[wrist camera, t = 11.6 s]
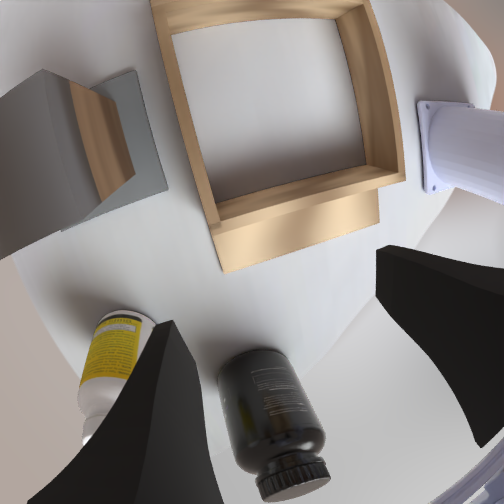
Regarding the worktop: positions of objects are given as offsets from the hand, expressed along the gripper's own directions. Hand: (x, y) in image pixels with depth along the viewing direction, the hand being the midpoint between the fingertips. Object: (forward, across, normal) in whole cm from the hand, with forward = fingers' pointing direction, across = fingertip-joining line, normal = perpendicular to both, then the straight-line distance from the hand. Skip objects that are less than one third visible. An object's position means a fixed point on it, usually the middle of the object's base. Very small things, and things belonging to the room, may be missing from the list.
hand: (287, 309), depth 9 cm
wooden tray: (+9, -4, -7) cm, 13 cm away
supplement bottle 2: (+10, +2, +14) cm, 17 cm away
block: (+9, +7, -7) cm, 13 cm away
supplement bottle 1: (+10, +10, +6) cm, 15 cm away
